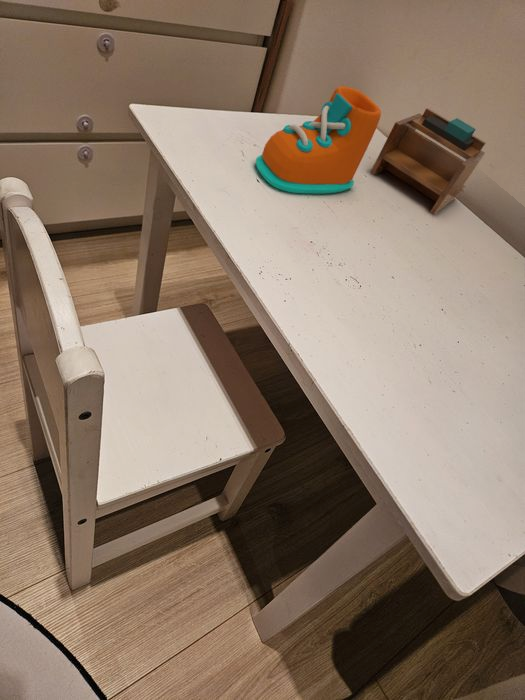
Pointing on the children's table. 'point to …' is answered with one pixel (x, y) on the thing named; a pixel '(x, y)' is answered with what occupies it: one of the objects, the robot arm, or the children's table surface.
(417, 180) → the shoe rack
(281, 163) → the toy shoe
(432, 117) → the teal two-tone block
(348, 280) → the children's table surface
